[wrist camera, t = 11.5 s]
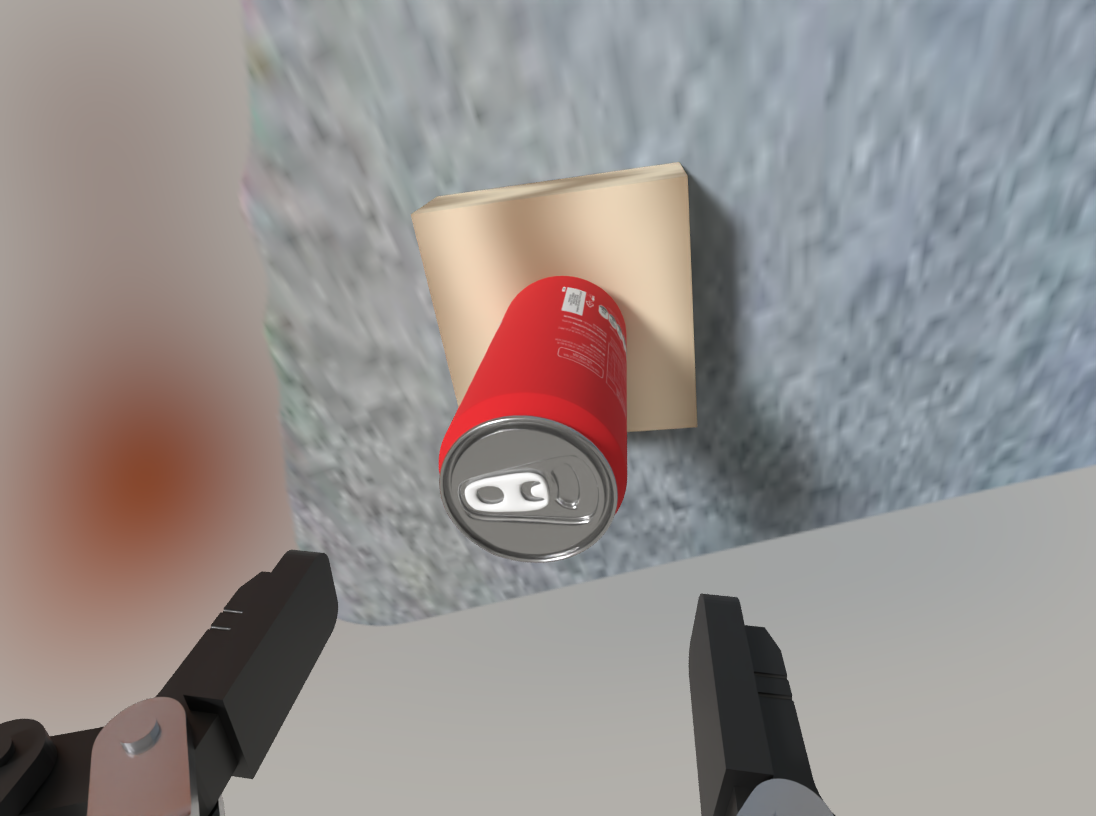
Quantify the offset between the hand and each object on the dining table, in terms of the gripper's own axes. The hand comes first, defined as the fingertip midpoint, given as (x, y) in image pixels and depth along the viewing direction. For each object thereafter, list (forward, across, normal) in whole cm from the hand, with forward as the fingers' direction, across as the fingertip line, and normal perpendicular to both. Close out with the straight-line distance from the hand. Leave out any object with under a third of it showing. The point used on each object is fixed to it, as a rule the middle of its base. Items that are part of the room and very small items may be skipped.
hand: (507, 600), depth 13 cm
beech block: (+19, 0, 0) cm, 19 cm away
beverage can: (+16, 0, 0) cm, 16 cm away
